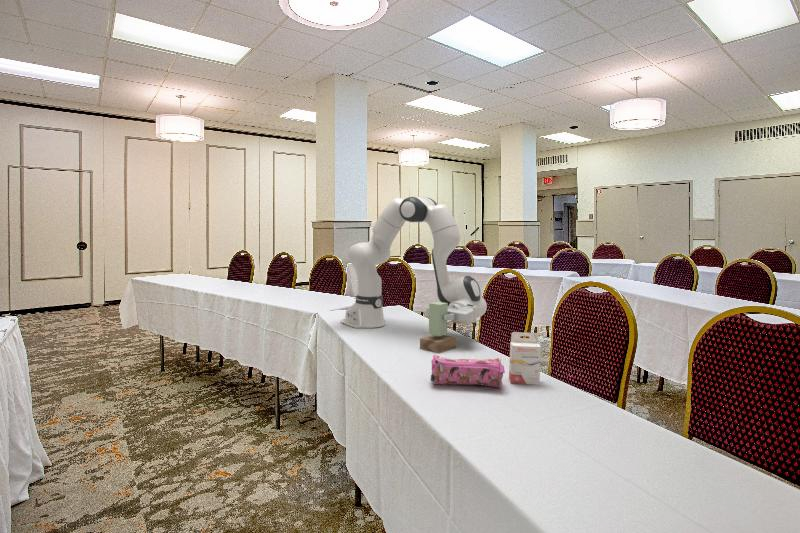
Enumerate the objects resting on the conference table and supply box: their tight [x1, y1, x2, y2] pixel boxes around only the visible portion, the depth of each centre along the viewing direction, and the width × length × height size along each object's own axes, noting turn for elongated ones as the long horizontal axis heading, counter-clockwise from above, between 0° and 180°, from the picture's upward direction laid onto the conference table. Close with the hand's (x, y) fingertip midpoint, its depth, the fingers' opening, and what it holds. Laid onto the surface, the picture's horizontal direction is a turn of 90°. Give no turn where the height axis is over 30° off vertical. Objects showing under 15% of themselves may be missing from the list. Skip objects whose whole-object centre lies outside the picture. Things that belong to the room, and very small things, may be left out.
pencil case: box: [429, 354, 506, 388], centre depth 140 cm, size 21×9×9 cm, turn 80°
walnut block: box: [419, 334, 457, 354], centre depth 181 cm, size 9×11×4 cm
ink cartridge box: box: [508, 331, 542, 386], centre depth 143 cm, size 9×5×15 cm, turn 84°
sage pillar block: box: [428, 301, 448, 336], centre depth 181 cm, size 5×5×12 cm
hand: (437, 316), depth 180 cm, fingers closed on sage pillar block, 5 cm apart
